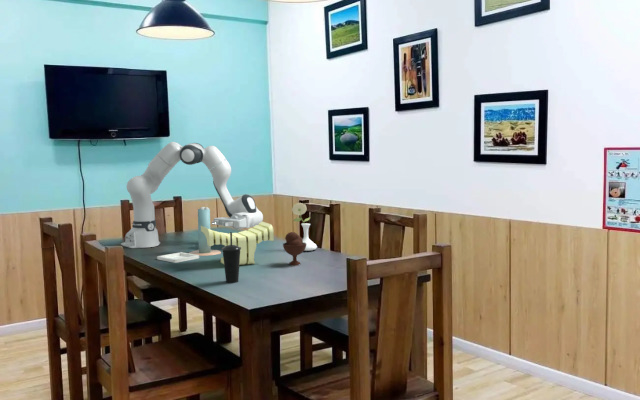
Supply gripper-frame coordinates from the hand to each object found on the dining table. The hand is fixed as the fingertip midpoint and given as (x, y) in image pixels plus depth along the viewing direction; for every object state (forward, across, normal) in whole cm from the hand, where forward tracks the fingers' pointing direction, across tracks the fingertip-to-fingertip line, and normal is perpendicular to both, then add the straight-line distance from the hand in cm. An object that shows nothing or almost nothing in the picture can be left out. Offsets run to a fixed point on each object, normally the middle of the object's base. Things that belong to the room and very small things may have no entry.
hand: (218, 223), depth 299 cm
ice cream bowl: (+1, +54, +15) cm, 56 cm away
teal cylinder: (+9, 0, +14) cm, 16 cm away
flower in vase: (-29, +34, +15) cm, 47 cm away
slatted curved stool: (+15, +31, +15) cm, 37 cm away
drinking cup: (+42, +57, +15) cm, 72 cm away
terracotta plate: (+9, 0, +14) cm, 17 cm away
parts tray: (+27, +2, +14) cm, 31 cm away
